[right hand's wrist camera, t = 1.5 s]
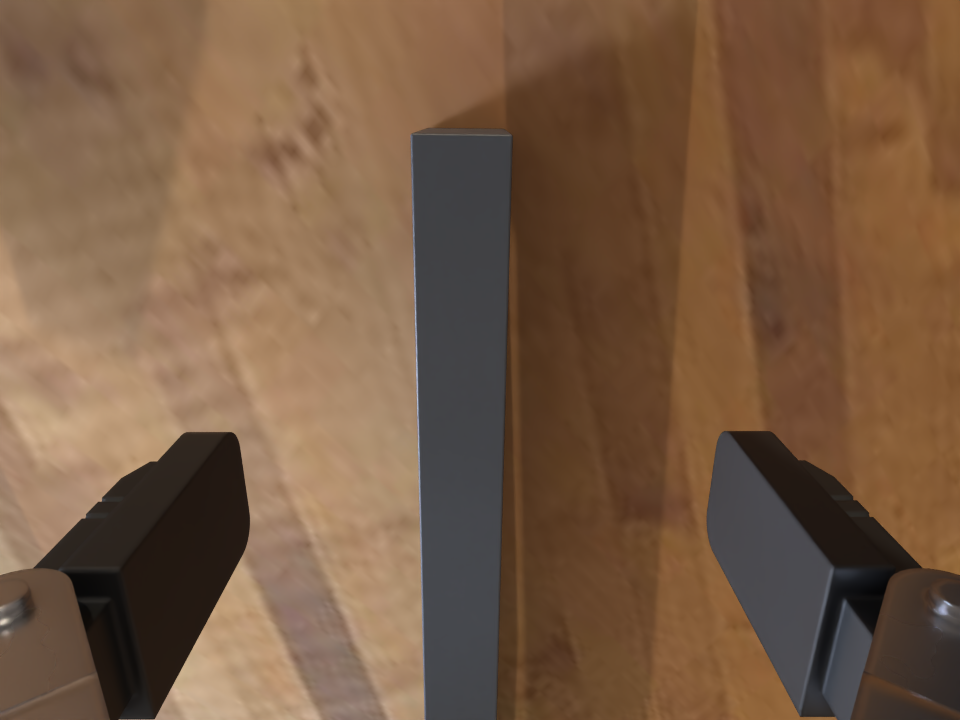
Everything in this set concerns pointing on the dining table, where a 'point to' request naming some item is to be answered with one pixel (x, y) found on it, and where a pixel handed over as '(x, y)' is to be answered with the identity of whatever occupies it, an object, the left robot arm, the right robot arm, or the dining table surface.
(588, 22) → the dining table surface
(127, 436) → the dining table surface
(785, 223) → the dining table surface
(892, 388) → the dining table surface
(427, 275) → the post
